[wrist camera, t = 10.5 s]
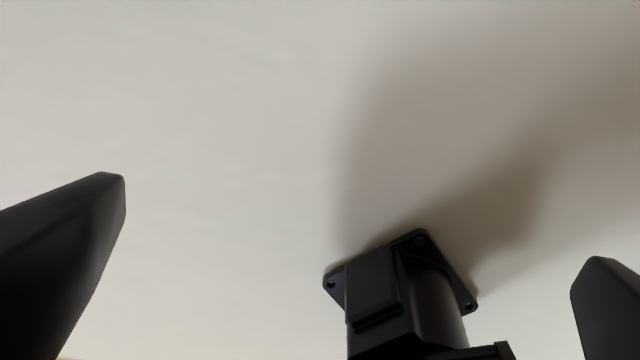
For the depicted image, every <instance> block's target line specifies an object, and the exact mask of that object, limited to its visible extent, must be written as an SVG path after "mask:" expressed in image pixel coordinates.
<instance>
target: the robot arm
mask: <svg viewBox="0 0 640 360" xmlns="http://www.w3.org/2000/svg"><path fill="white" fill-rule="evenodd" d="M125 215H126V201H125V181H124V178H123V177H122V176H121V175H119V174H114V173H108V172H97V173H94V174H92V175H89V176H87V177H84V178H82V179H79V180H77V181H74V182H72V183H69V184H67V185H64V186H61V187H59V188H56V189H54V190H51V191H49V192H46V193H44V194H41V195H39V196H36V197H34V198H31V199H29V200H26V201H23V202H21V203H18V204H16V205H13V206H11V207H8V208H6V209H3V210H1V211H0V360H56V358H57V356H58V355H59V353H60V351H61V349H62V348H63V346H64V344H65V342H66V341H67V339H68V337H69V336H70V334H71V332H72V330H73V329H74V327H75V325H76V323H77V322H78V320H79V318H80V317H81V315H82V313H83V311H84V310H85V308H86V306H87V304H88V303H89V301H90V299H91V297H92V295H93V293H94V291H95V289H96V287H97V285H98V283H99V281H100V278H101V276H102V273H103V271H104V269H105V266H106V264H107V262H108V259H109V257H110V255H111V252H112V250H113V248H114V245H115V243H116V240H117V238H118V236H119V233H120V231H121V229H122V226H123V224H124V220H125ZM419 237H424V238H423V239H422V240H417V238H419ZM330 281H333V282H334V283H329V282H330ZM323 288H324V289H325V290H326V291H327V292H328V293H329V294H330V296H331V297H332V298H333V299H334V300H335V301H336V302H337V303H338V304H339V305H340V307H341V308H342V309H343V310H344V311H345V323H346V325H347V360H516V358H515V356H514V354H513V352H512V350H511V348H510V346H509V344H508V342H507V340H506V341H499V342H494V345H486V346H478V347H470V345H469V342H468V338H467V335H466V331H465V328H464V324H463V320H462V316H465V315H467V314H470V313H472V312H474V311H475V310H476V309H477V308H478V303H477V300H476V298H475V296H474V295H473V294H472V292H471V291H470V289H469V288H468V287H467V285H466V284H465V282H464V281H463V280H462V278H461V277H460V275H459V274H458V273H457V271H456V270H455V268H454V267H453V266H452V264H451V263H450V261H449V260H448V259H447V257H446V256H445V255H444V253H443V252H442V250H441V249H440V248H439V246H438V245H437V243H436V242H435V241H434V239H433V238H432V236H431V235H430V234H429V232H428V231H427V230H425V229H415V230H413V231H411V232H409V233H407V234H405V235H403V236H401V237H399V238H397V239H395V240H393V241H391V242H389V243H387V244H385V245H382V246H380V247H378V248H376V249H374V250H372V251H370V252H368V253H366V254H364V255H362V256H360V257H358V258H356V259H354V260H352V261H350V262H348V263H346V264H345V265H343V266H341V267H339V268H337V269H335V270H333V271H331V272H329V273H327V274H326V275H325V276H324V277H323ZM570 300H571V304H572V308H573V312H574V316H575V320H576V324H577V328H578V332H579V336H580V340H581V344H582V348H583V352H584V356H585V360H640V275H638V274H637V273H635V272H634V271H632V270H631V269H629V268H628V267H626V266H625V265H623V264H621V263H620V262H618V261H617V260H615V259H612V258H606V257H600V256H592V257H590V258H589V259H588V260H587V261H586V263H585V264H584V266H583V268H582V269H581V271H580V272H579V274H578V276H577V277H576V279H575V281H574V282H573V284H572V286H571V289H570ZM468 303H470V304H468ZM466 304H468V305H466Z"/></svg>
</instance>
